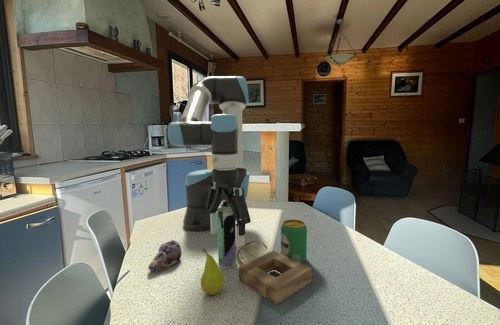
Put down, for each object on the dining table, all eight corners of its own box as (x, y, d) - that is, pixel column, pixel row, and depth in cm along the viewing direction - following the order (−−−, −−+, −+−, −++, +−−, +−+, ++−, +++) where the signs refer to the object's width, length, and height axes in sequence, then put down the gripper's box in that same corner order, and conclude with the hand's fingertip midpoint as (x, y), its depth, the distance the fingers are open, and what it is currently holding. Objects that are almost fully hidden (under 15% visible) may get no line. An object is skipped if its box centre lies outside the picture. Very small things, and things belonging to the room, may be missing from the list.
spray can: (233, 269, 80) (232, 204, 77) (216, 268, 81) (214, 203, 78) (238, 260, 85) (237, 199, 83) (221, 259, 87) (220, 198, 84)
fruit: (227, 295, 68) (226, 250, 67) (206, 303, 65) (204, 256, 64) (217, 283, 73) (216, 241, 71) (197, 291, 70) (195, 247, 68)
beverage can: (276, 256, 88) (276, 221, 86) (297, 251, 91) (297, 217, 89) (289, 268, 81) (289, 230, 79) (311, 262, 84) (312, 225, 82)
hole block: (238, 280, 75) (238, 266, 74) (273, 262, 84) (273, 250, 83) (276, 305, 64) (276, 289, 64) (311, 281, 74) (311, 268, 73)
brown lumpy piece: (157, 277, 77) (156, 257, 76) (139, 270, 81) (137, 250, 80) (186, 259, 87) (186, 241, 86) (169, 253, 91) (168, 236, 90)
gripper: (192, 165, 85) (195, 230, 88) (242, 175, 68) (243, 256, 71) (212, 162, 90) (214, 224, 93) (263, 171, 73) (263, 247, 76)
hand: (226, 238), depth 82 cm, fingers open, 12 cm apart
